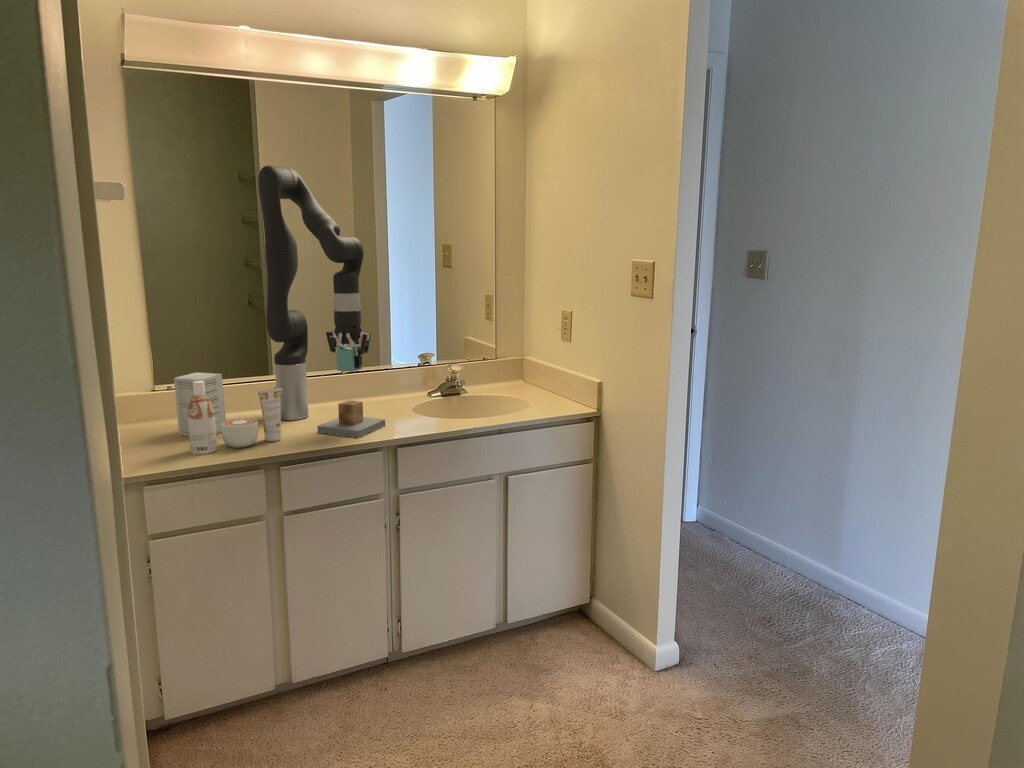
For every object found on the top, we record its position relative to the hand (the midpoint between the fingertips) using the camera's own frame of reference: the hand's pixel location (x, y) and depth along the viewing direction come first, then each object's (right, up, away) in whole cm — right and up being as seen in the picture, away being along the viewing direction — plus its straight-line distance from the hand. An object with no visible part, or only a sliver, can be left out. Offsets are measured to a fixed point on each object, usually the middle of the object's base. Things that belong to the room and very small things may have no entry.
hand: (349, 367), depth 214 cm
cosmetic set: (-27, -22, -13) cm, 37 cm away
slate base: (0, -18, +4) cm, 18 cm away
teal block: (0, -1, 0) cm, 1 cm away
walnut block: (0, -16, +3) cm, 16 cm away
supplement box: (-42, -19, -1) cm, 46 cm away
